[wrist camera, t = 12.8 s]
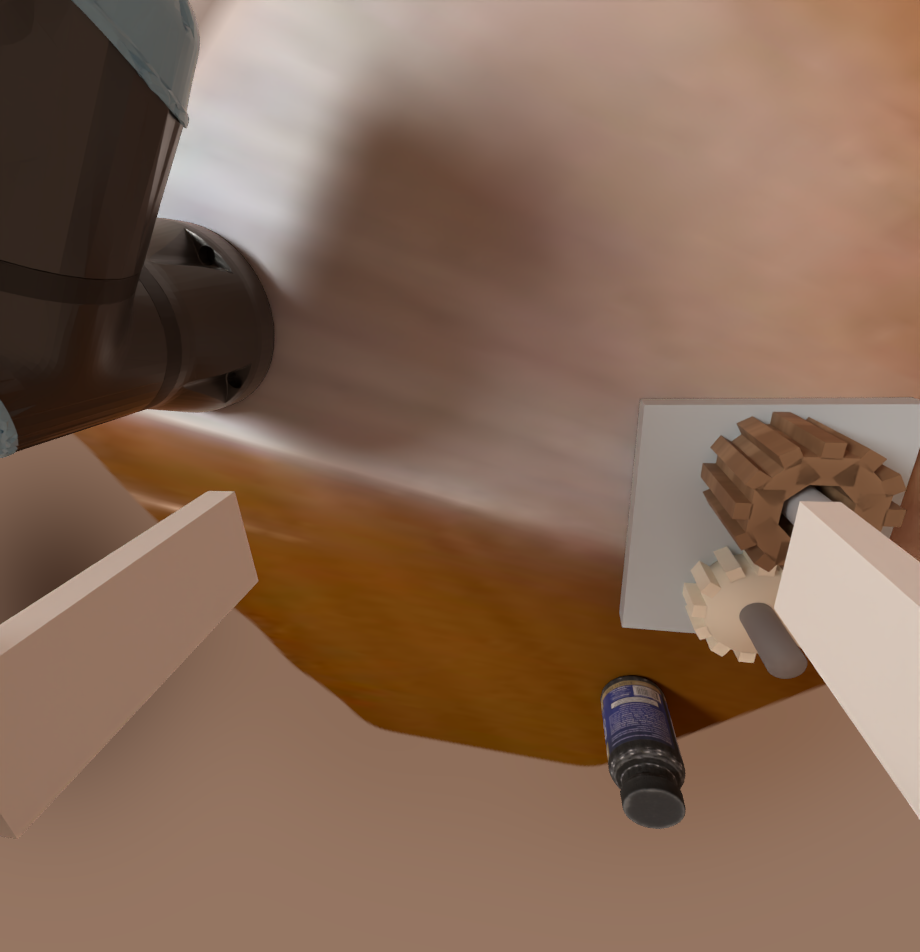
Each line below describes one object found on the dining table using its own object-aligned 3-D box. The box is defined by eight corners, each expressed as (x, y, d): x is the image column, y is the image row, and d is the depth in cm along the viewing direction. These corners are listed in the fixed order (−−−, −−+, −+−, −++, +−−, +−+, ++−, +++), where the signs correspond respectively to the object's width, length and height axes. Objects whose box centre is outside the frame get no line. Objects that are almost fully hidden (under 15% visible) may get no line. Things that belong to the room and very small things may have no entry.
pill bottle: (587, 689, 48) (596, 798, 37) (638, 662, 45) (662, 771, 35) (626, 728, 48) (645, 844, 38) (678, 703, 46) (713, 820, 36)
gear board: (619, 612, 43) (636, 700, 34) (640, 398, 36) (668, 437, 27) (840, 629, 40) (924, 731, 31) (913, 397, 33) (1051, 441, 24)
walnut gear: (692, 523, 37) (721, 573, 30) (711, 411, 34) (748, 441, 27) (821, 530, 35) (880, 584, 29) (855, 412, 32) (929, 444, 26)
